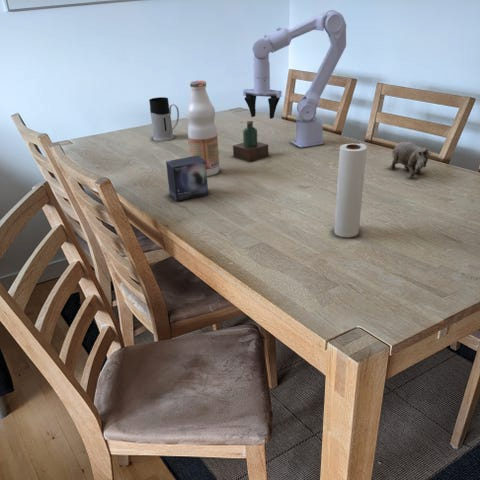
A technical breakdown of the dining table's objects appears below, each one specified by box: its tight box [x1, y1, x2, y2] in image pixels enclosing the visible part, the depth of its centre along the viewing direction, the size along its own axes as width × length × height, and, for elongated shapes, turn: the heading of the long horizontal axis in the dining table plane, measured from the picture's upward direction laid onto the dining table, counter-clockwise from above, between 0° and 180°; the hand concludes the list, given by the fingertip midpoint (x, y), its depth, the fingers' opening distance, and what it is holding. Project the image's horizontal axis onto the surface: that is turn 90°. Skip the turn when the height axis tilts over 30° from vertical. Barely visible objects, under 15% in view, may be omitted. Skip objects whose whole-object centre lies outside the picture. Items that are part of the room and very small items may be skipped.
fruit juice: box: [185, 80, 220, 177], centre depth 162 cm, size 9×9×28 cm
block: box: [232, 141, 269, 163], centre depth 181 cm, size 9×9×4 cm
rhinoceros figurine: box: [389, 140, 432, 180], centre depth 157 cm, size 8×14×15 cm
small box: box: [165, 155, 209, 202], centre depth 150 cm, size 11×6×10 cm, turn 117°
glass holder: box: [148, 96, 180, 142], centre depth 203 cm, size 9×14×15 cm, turn 54°
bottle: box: [242, 120, 259, 147], centre depth 178 cm, size 5×5×8 cm
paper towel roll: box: [333, 142, 368, 238], centre depth 120 cm, size 7×6×21 cm
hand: (262, 117), depth 187 cm, fingers open, 7 cm apart
